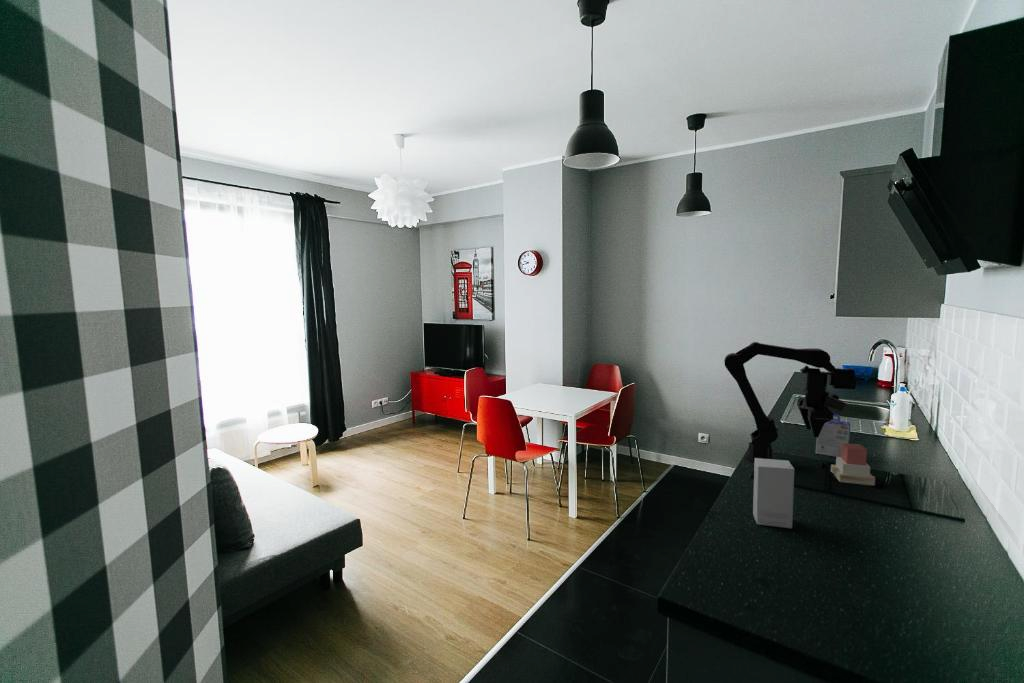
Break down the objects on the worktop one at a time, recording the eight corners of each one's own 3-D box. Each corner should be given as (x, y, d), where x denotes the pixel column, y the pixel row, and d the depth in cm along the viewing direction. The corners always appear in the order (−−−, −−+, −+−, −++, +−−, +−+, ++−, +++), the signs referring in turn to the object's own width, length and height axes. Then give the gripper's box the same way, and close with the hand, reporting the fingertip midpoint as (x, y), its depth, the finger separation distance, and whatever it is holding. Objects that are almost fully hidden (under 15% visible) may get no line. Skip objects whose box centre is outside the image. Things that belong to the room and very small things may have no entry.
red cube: (865, 465, 144) (866, 449, 144) (846, 463, 146) (847, 447, 145) (859, 459, 149) (860, 444, 149) (841, 458, 151) (842, 443, 150)
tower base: (874, 487, 142) (875, 478, 142) (839, 483, 145) (840, 474, 145) (863, 476, 151) (863, 467, 151) (830, 473, 154) (831, 464, 153)
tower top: (869, 476, 143) (870, 466, 143) (842, 473, 146) (843, 464, 145) (861, 468, 150) (862, 459, 150) (835, 465, 152) (836, 456, 152)
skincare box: (787, 518, 122) (790, 460, 120) (793, 530, 116) (796, 469, 114) (751, 513, 124) (754, 456, 123) (755, 525, 118) (758, 465, 117)
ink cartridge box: (848, 454, 170) (851, 415, 168) (848, 459, 165) (851, 419, 164) (815, 449, 175) (818, 411, 174) (815, 454, 171) (817, 415, 169)
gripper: (855, 394, 143) (850, 444, 145) (835, 383, 161) (831, 428, 162) (813, 391, 147) (809, 440, 148) (798, 381, 164) (795, 424, 166)
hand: (812, 433), depth 156 cm, fingers open, 9 cm apart
